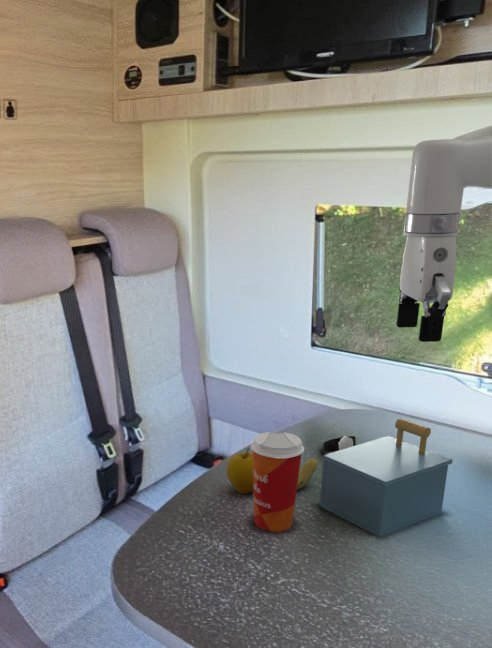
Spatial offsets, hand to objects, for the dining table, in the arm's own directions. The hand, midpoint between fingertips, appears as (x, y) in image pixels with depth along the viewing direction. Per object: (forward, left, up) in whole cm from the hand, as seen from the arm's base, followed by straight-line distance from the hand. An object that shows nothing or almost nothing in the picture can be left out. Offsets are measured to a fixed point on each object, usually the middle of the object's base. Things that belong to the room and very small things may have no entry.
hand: (417, 333), depth 117 cm
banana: (+11, -12, -29) cm, 33 cm away
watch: (-7, -20, -29) cm, 36 cm away
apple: (+21, -16, -29) cm, 39 cm away
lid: (+7, +2, -20) cm, 21 cm away
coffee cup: (+25, -4, -29) cm, 39 cm away
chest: (+7, +2, -29) cm, 30 cm away
